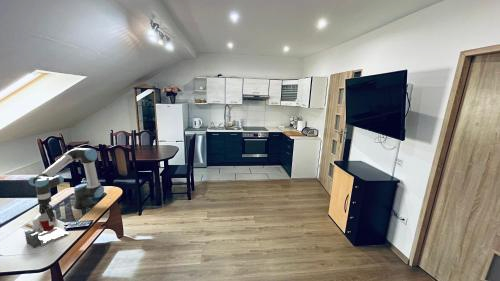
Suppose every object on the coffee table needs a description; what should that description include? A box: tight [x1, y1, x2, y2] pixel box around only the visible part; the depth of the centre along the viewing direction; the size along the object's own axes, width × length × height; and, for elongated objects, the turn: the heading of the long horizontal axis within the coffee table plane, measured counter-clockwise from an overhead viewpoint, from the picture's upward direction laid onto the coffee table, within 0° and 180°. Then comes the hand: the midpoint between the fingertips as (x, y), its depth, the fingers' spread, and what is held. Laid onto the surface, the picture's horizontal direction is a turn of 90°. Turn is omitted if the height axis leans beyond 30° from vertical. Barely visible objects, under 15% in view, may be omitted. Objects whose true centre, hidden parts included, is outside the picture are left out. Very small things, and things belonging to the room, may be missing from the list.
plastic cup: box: [38, 213, 57, 232], centre depth 169 cm, size 11×11×12 cm
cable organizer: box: [31, 209, 57, 232], centre depth 184 cm, size 15×11×12 cm
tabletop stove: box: [24, 226, 70, 249], centre depth 169 cm, size 22×17×12 cm
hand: (47, 223), depth 169 cm, fingers closed on plastic cup, 11 cm apart
